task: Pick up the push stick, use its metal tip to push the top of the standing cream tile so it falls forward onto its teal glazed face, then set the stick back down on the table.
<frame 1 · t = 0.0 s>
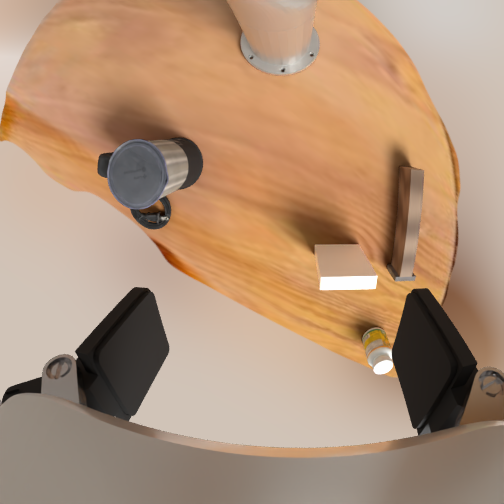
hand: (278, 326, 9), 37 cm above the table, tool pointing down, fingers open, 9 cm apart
push stick: (402, 217, 42), on the table
tile: (336, 249, 46), on the table
supplement bottle: (373, 335, 52), on the table
milk frother: (169, 183, 46), on the table
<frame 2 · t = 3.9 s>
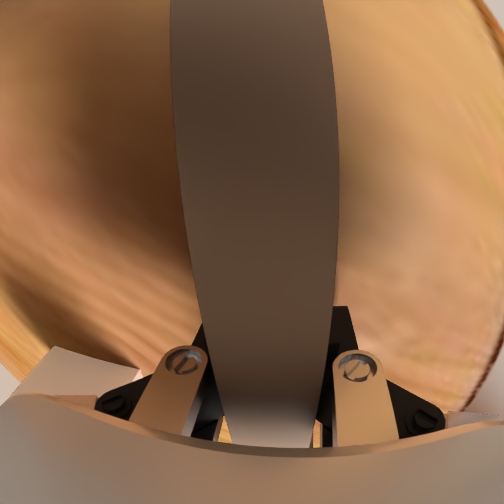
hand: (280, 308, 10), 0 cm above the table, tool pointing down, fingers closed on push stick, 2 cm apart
push stick: (280, 305, 11), on the table, touching gripper
tile: (96, 367, 15), on the table
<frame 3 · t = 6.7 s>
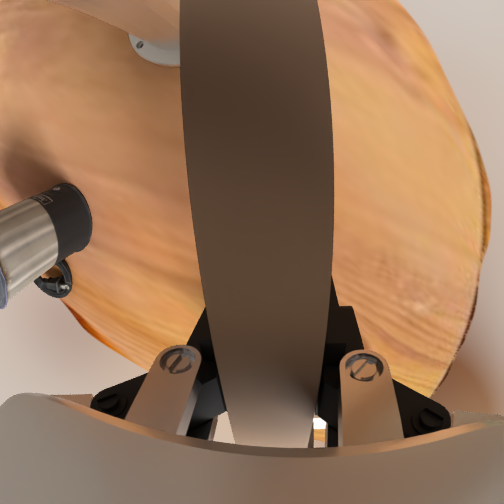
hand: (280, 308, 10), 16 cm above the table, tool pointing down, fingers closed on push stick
push stick: (281, 298, 11), point 15 cm above the table, touching gripper
milk frother: (64, 242, 31), on the table
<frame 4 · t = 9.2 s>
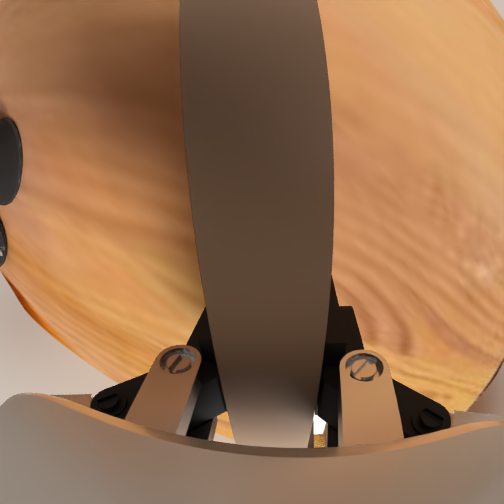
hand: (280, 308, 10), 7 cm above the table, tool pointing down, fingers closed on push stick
push stick: (281, 297, 11), point 6 cm above the table, touching gripper
milk frother: (0, 194, 19), on the table
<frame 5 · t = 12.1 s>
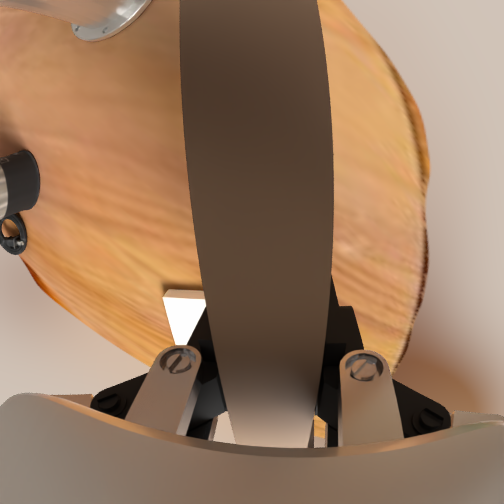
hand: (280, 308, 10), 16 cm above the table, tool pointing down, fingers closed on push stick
push stick: (281, 294, 11), point 16 cm above the table, touching gripper
tile: (198, 294, 30), point 1 cm above the table, tilted 90°
milk frother: (22, 202, 30), on the table
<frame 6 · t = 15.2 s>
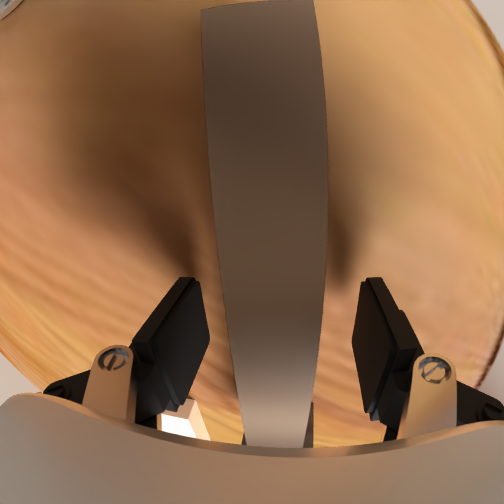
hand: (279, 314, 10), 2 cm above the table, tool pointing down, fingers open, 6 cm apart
push stick: (282, 278, 12), on the table
tile: (141, 397, 16), point 1 cm above the table, tilted 90°
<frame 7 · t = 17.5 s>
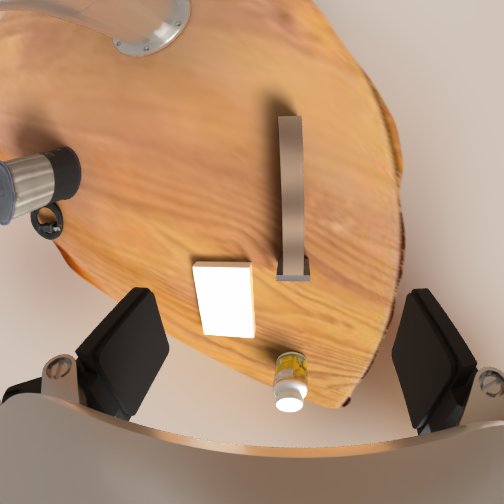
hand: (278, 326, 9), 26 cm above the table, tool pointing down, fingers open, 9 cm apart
push stick: (293, 191, 33), on the table
tile: (221, 264, 38), point 1 cm above the table, tilted 90°
supplement bottle: (291, 360, 44), on the table
milk frother: (60, 193, 38), on the table
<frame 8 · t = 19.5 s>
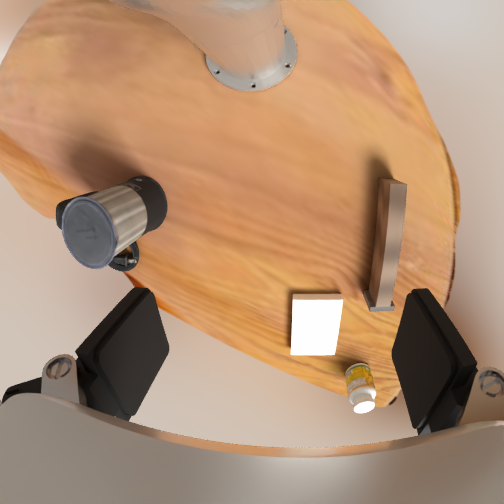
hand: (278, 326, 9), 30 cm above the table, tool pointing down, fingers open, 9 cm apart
push stick: (382, 237, 38), on the table
tile: (317, 296, 42), point 1 cm above the table, tilted 90°
supplement bottle: (357, 370, 49), on the table
milk frother: (135, 223, 43), on the table
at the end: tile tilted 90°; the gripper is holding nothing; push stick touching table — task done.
